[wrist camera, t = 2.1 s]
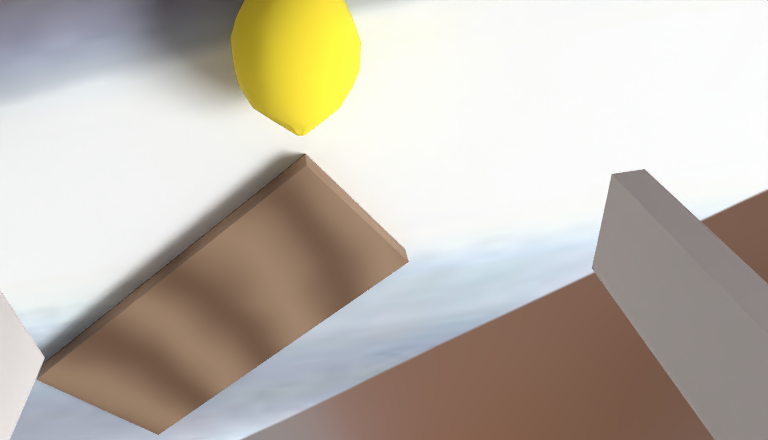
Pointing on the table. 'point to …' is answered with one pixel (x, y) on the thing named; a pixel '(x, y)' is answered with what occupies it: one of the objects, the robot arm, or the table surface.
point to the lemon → (295, 59)
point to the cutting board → (229, 301)
